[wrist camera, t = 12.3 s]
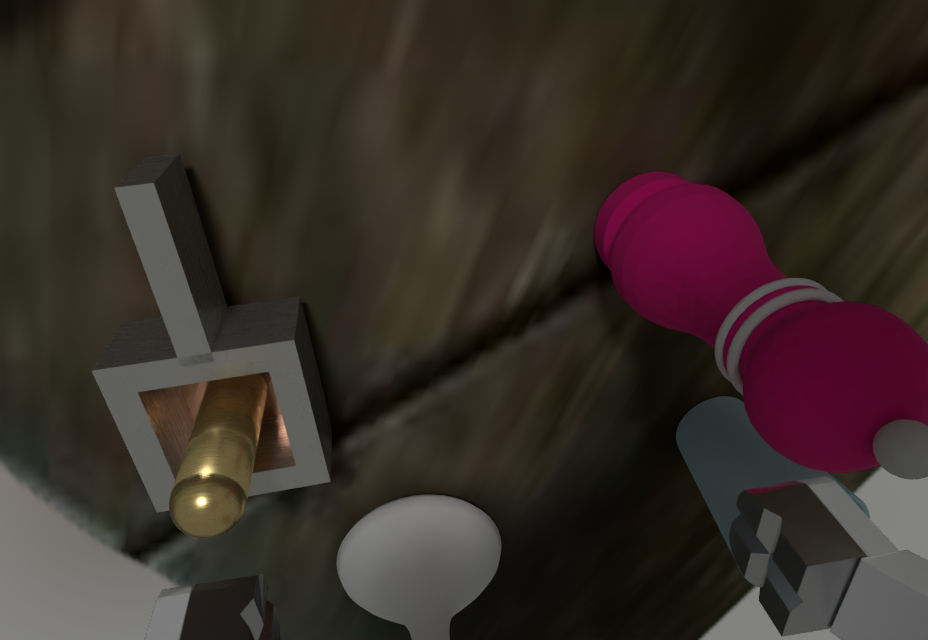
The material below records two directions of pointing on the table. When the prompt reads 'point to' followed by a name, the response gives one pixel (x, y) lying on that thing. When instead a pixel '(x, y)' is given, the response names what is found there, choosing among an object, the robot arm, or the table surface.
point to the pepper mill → (770, 329)
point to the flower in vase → (420, 561)
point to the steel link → (205, 348)
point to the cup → (734, 458)
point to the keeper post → (220, 452)
